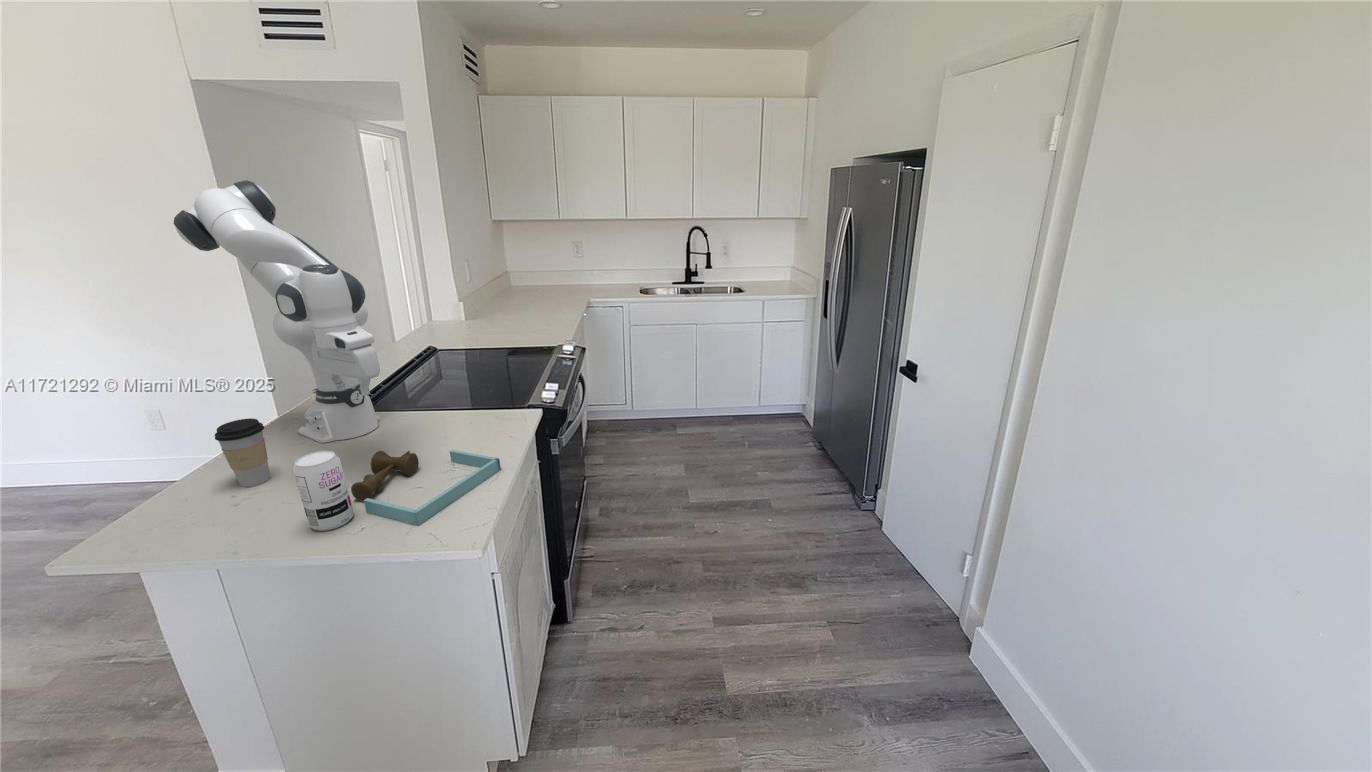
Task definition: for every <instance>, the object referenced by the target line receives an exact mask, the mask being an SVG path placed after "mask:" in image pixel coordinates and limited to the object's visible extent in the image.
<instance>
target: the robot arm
mask: <svg viewBox="0 0 1372 772" xmlns="http://www.w3.org/2000/svg"><path fill="white" fill-rule="evenodd" d="M276 211H277V209H276V206H275V204H274V201H273V199H272V197H271V196H270V194H269V193H268V192H267V190H265V189H264V188H263V187H261V186H260V185H258V184H256V183H254V181H251V180H248V179H247V180H241V181H237V182H234V183H233V184H232V185H230V186H227V187H224V188H219V187H210V188H208V189H205V190H203V191H201V192H200V193H198V195H197V196H196V197H195V199H194V203H193V204H192V205H190V206H189V207H188V208H186V209H182V210H180V211H179V212H178V213H177V214H176V215H175V216H174V218H173V225H174V227H175V230H176V232H177V234H178V235H179V237H180V238H181V239H182V240H183V241H184V242H185V243H187V244H188V245H190V246H191V247H194V248H196V249H198V250H199V251H204V252H210V251H214V250H217V249H220V247H221V248H223V250H225V251H226V252H228V254H230V255H232V256H233V257H235V258H237V259H238V260H239V261H240V263H241V264H242V265H243V267H244V268H245V269H246V270H247V271H248V272H249V274H250V275H251V276H252V277H253V278H254V279H255V280H256V281H257V282H258V284H259V285H260V286H262V288H263V289H265V291H266V292H267V293H268V294H269V295H270V296H271V297H272V298H274V299H275V301H276V302H275V303H276V305H277V308H278V310H279V311H277V313H275V315H274V316H273V322H272V329H273V331H274V333H275V334H276V337H278V339H279V340H280V341H281V342H283V343H284V344H286V345H287V346H291V347H293V348H294V349H296V350H298V351H299V352H300V353H301V354H302V356H304V358H305V359H306V360H307V363H308V364H309V366H310V368H311V372H312V374H313V379H314V382H315V385H316V388H315V389H312V390H311V391H312V394H315V401H314V402H313V403H312V405H311V406H309V407H308V409H307V410H306V411H305V412H304V421H305V425H304V424H303V426H301V427H300V428H298V429H297V433H298V434H300V435H301V436H304V437H307V438H308V439H311V440H313V441H315V442H318V443H320V444H326V443H329V442H335V441H341V440H343V441H344V440H348V439H353V438H358V437H361V436H364V435H366V434H369V433H371V432H372V431H374V430H376V429H377V428H378V426H379V421H380V420H381V419H380V415H377V414H376V412H375V408H374V406H373V402H372V400H371V398H370V396H369V395H370V394H371V391H370V383H371V379H374V378H377V377H378V376H380V374H381V368H380V362H379V358H378V354H377V351H376V348H375V347H374V345H373V344H374V343H375V338H374V335H373V334H372V333H370V332H368V331H366V330H365V329H364V328H362V326H364V325H365V324H366V323H367V321H368V318H369V316H368V309H367V307H366V306H367V305H365V302H366V300H365V299H366V291H365V288H364V286H363V285H362V283H361V282H360V281H359V279H358V278H357V277H355V276H354V275H352V274H350V273H348V271H344V270H343V269H341V268H340V267H338V266H336V265H335V264H334V263H332V261H330V260H329V259H327V258H326V257H325V256H324V255H323V254H322V253H320V252H318V250H316V249H315V248H313V247H312V246H311V245H310V244H308V243H307V242H306V241H305V240H303V239H302V238H300V237H298V236H296V235H295V234H292V233H289V232H287V231H284V230H283V229H281V228H279V227H277V226H275V224H274V223H273V222H274V220H275V218H276V214H277V213H276ZM313 391H314V392H313Z"/></svg>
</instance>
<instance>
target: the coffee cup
mask: <svg viewBox="0 0 1372 772" xmlns="http://www.w3.org/2000/svg"><path fill="white" fill-rule="evenodd" d="M264 429H265V426H264V424H263V423H262V422H260V421H259V419H257V418H241V419H236V420H232V421H229V422H226V423H224V424H221V425H220V426H218V427H217V428H216V432H215V434H214V440H216V441H218V443H219V445H220V447H221V451H222V453H223V455H224V457H225V459H226V461H227V463H228V465H229V467H230V469H231V470H232V471H233V473H234V475H235V478H236V479H237V481H238V483H239V486H240V487H243V488H247V487H248V488H250V487H257V486H259V485H262V484H264V483H266V482H267V481H269V479H270V478H271V475H270V469H269V468H270V467H269V463H268V459H269V458H268V453H267V447H266V446H267V445H266V441H265V437H264V433H263V431H264Z"/></svg>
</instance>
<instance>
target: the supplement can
mask: <svg viewBox="0 0 1372 772" xmlns="http://www.w3.org/2000/svg"><path fill="white" fill-rule="evenodd" d="M292 470H293V471H292V473H293V476H294V480H295V481H296V485H297V489H298V492H299V495H300V499H301V502H302V505H303V510H304V513H305V516H306V519H307V522H308V526H309V528H311V529H312V530H315V531H319V532H326V531H332V530H335V529H338V528H340V527H342V526H344V525H346V524H348V522H349V521H351V519H352V518H353V516H354V515H355V512H354V508H353V504H352V499H351V496H350V493H349V490H348V484H347V480H346V477H345V474H344V470H343V467H342V463H341V459H340V457H339V456H338V455H336V453H335V452H334V451H333V450H332V451H331V450H321V451H314V452H311V453H307V454H305V455H302V456H300V457H299V458H297V459H296V460H295V461H294V466H293V469H292Z"/></svg>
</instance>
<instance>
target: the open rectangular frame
mask: <svg viewBox="0 0 1372 772" xmlns="http://www.w3.org/2000/svg"><path fill="white" fill-rule="evenodd" d="M449 457H450V460H451V463H454V464H455V463H456V464H459V465H465V466H470V467H475V468H478V469H477V470H475V471H474V472H472V473H470V474H468V475H467V476H466V477H464V478H462V479H461V480H459V481H458V482H457V483H454V484H453V485H452V486H450V487H449V488H447V489H446V490H444V491H443V492H441V493H440V494H438V495H437V496H435V497H433V498H432V499H430V500H428V501H427V502H425V503H424V504H423V505H421V506H420V507H418V508H416V509H415V508H410V507H406V506H401V505H399V504H398V505H397V504H393V503H391V502H390V503H389V502H386V501H380V500H377V499H374V498H373V499H369V498H367V499H365V500H364V501H363V503H364V508H365V511H366V513H368V514H372V515H375V516H379V517H383V518H388V519H390V520H391V519H392V520H396V521H398V522H399V521H400V522H403V523H408V524H411V525H415V526H420V525H422V524H423V523H424V522H426V521H427V520H429V519H430V518H431V517H433V516H435V515H436V514H438V513H439V512H441V511H442V510H444V509H445V508H447V506H449V505H450V504H452V503H454V502H455V501H457V500H458V499H459V498H461V497H462V496H464V495H466V494H467V493H468V492H470V491H472V489H474V488H476V487H477V486H479V485H480V484H482V483H483V482H485V480H488V479H489V478H490V477H492V476H494V475H495V474H496V473H497V472H499V471H501V470H502V467H501V466H502V465H501V462H500V458H498V457H493V456H490V455H489V456H488V455H482V454H477V453H473V452H466V451H461V450H456V449H451V450H449Z"/></svg>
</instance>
